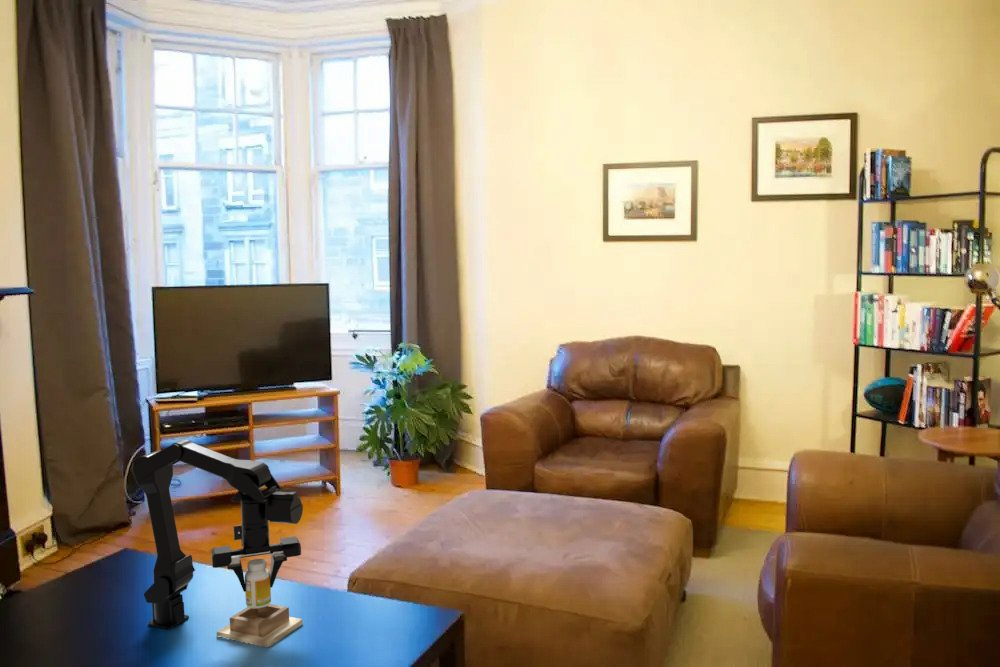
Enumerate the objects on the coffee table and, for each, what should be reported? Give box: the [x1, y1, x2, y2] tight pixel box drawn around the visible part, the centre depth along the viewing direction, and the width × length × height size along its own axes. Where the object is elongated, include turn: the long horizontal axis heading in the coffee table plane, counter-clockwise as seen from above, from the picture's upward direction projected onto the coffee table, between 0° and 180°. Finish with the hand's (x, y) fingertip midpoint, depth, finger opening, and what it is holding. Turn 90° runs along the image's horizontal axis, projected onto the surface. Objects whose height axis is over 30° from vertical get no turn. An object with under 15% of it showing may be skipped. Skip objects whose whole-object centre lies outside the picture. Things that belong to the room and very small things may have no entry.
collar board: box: [216, 603, 304, 648], centre depth 180 cm, size 14×12×4 cm
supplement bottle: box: [244, 558, 272, 609], centre depth 179 cm, size 5×5×10 cm
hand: (258, 588), depth 179 cm, fingers closed on supplement bottle, 5 cm apart
